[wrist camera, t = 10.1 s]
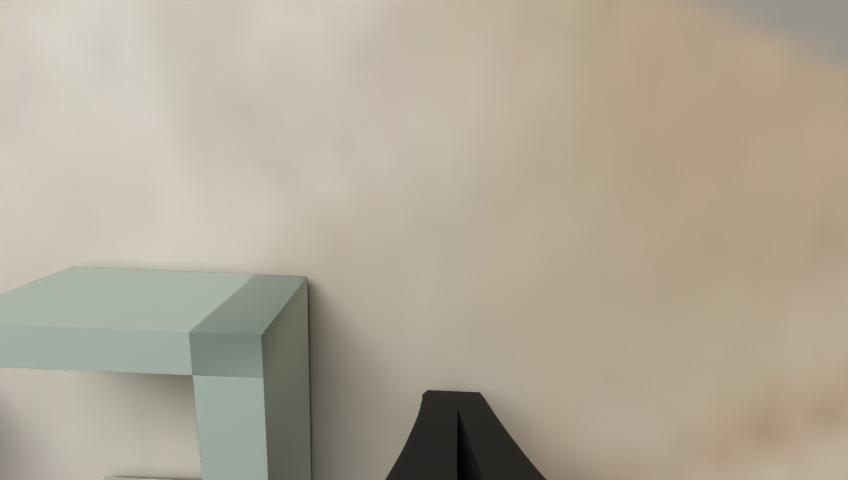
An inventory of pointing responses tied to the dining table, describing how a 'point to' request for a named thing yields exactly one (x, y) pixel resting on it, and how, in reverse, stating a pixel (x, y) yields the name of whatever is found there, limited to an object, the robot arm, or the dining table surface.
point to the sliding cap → (184, 352)
